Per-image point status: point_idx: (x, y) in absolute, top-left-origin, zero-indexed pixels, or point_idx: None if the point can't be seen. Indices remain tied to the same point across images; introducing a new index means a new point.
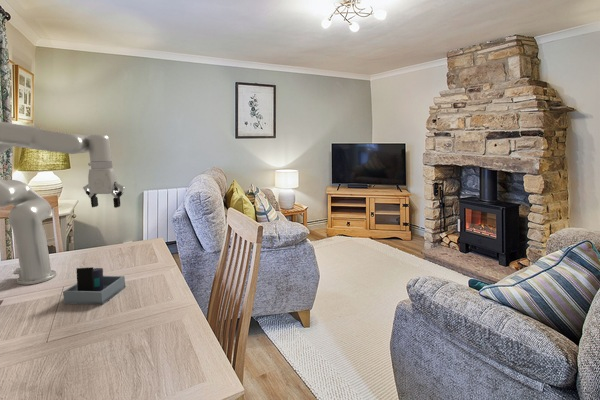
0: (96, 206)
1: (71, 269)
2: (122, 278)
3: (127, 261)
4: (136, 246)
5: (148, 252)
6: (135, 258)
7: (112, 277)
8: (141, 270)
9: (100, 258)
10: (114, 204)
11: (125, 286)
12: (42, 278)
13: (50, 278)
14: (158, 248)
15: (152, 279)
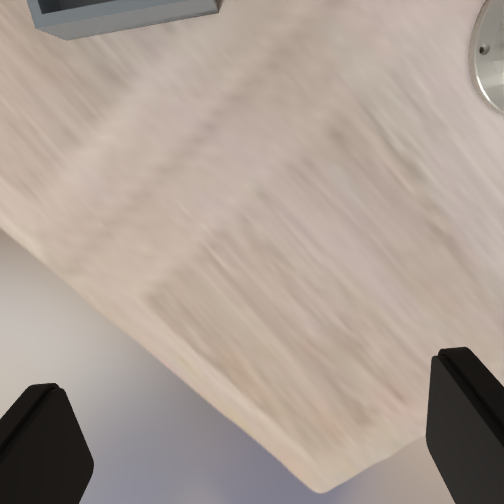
0: (432, 412)
1: (453, 168)
2: (32, 9)
3: (272, 286)
4: (349, 422)
5: (257, 377)
6: (262, 318)
7: (87, 7)
8: (143, 214)
9: (409, 295)
10: (9, 423)
11: (64, 38)
12: (500, 11)
13: (471, 42)
14: (248, 416)
15: (26, 140)
